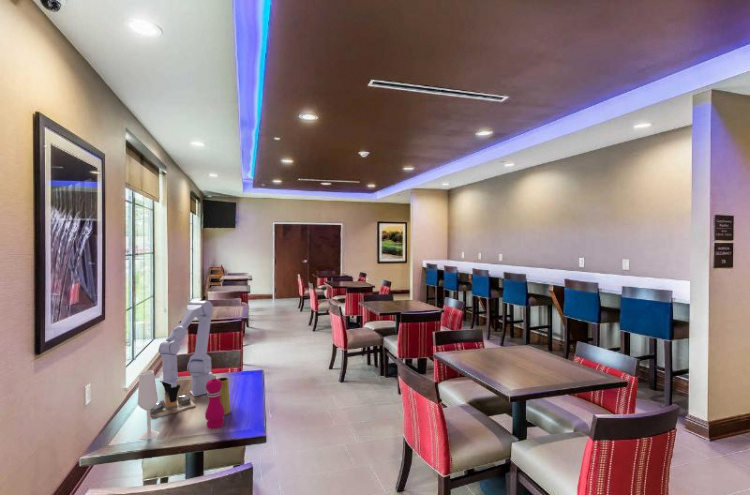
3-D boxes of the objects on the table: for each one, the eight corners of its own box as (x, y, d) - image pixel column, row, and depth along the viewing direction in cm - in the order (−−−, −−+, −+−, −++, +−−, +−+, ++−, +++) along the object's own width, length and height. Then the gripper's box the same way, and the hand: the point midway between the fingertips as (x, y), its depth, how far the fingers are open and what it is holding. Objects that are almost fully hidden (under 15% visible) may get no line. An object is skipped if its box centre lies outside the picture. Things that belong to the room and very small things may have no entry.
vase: (216, 417, 171) (214, 382, 170) (214, 411, 176) (213, 378, 176) (231, 413, 174) (230, 380, 173) (229, 408, 179) (228, 376, 179)
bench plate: (189, 399, 190) (189, 397, 190) (195, 407, 182) (195, 405, 181) (147, 409, 180) (147, 407, 180) (152, 418, 171) (152, 416, 171)
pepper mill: (213, 431, 158) (211, 379, 158) (201, 426, 162) (199, 376, 162) (229, 423, 165) (227, 373, 164) (217, 419, 168) (215, 371, 168)
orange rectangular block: (175, 403, 183) (174, 390, 183) (177, 406, 180) (176, 393, 180) (165, 406, 181) (164, 392, 181) (166, 409, 178) (166, 395, 178)
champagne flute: (163, 431, 159) (160, 370, 158) (150, 440, 152) (147, 375, 152) (148, 430, 160) (145, 369, 160) (134, 438, 154) (132, 375, 153)
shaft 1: (161, 410, 179) (161, 399, 179) (165, 412, 177) (165, 401, 177) (150, 414, 175) (149, 403, 175) (154, 416, 173) (153, 405, 173)
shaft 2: (188, 402, 187) (188, 392, 187) (190, 405, 184) (190, 394, 184) (177, 405, 184) (177, 394, 184) (179, 408, 181) (178, 397, 181)
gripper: (156, 366, 184) (157, 396, 184) (163, 374, 172) (164, 406, 172) (173, 363, 188) (175, 392, 188) (181, 370, 176) (182, 402, 177)
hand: (171, 399), depth 181 cm, fingers open, 7 cm apart
